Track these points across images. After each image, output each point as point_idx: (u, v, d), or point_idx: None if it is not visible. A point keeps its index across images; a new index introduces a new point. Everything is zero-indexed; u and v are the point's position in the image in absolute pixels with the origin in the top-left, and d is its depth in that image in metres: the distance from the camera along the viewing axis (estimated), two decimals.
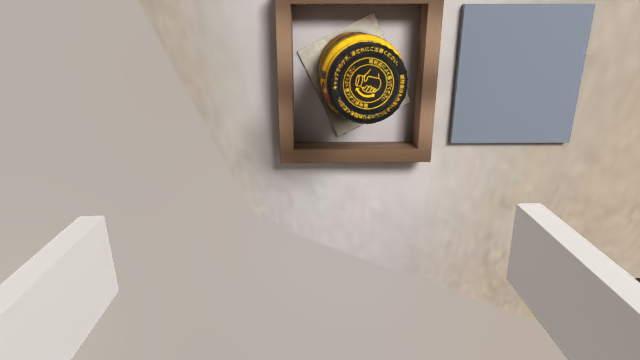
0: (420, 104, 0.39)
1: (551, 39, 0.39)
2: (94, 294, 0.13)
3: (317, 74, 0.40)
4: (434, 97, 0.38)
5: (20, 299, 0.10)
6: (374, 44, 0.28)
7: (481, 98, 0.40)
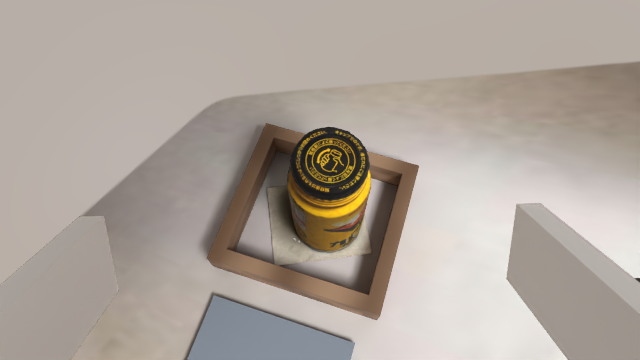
0: None
1: None
2: (94, 294, 0.13)
3: None
4: (273, 279, 0.35)
5: (20, 299, 0.10)
6: (364, 174, 0.29)
7: (249, 340, 0.35)
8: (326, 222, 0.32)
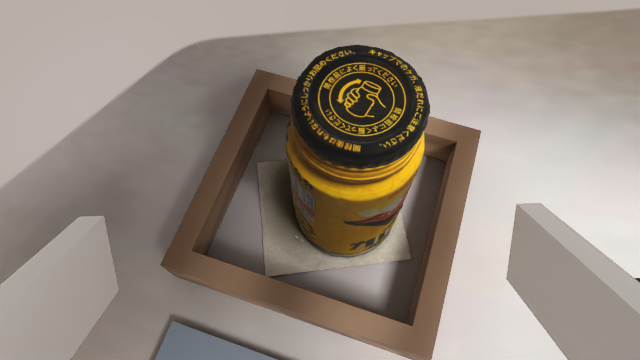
0: None
1: None
2: (94, 294, 0.13)
3: None
4: (263, 298, 0.23)
5: (20, 299, 0.10)
6: (423, 123, 0.16)
7: None
8: (350, 210, 0.19)
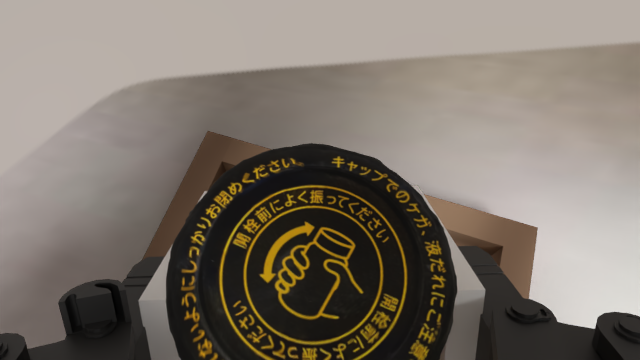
0: None
1: None
2: None
3: None
4: None
5: None
6: (445, 333, 0.07)
7: None
8: None
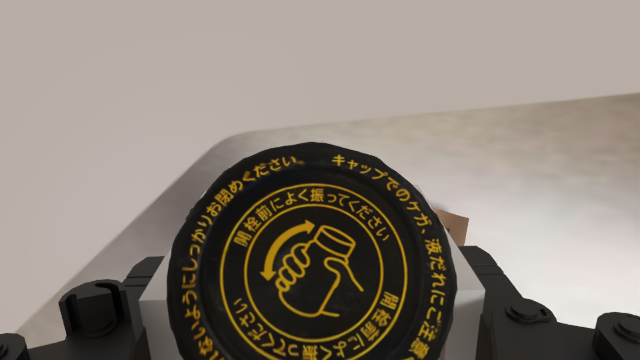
0: None
1: None
2: None
3: None
4: None
5: None
6: (445, 331, 0.07)
7: None
8: None
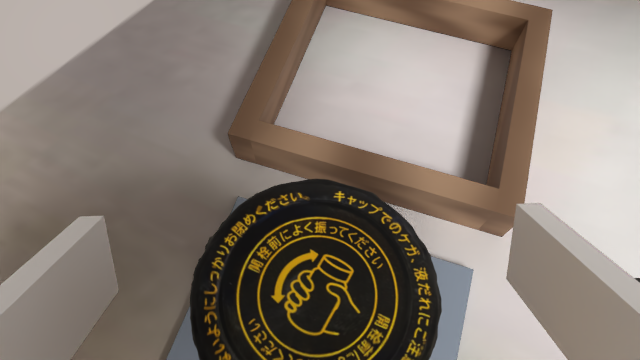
0: None
1: None
2: (94, 294, 0.13)
3: None
4: (339, 163, 0.22)
5: (20, 299, 0.10)
6: (429, 348, 0.09)
7: None
8: None
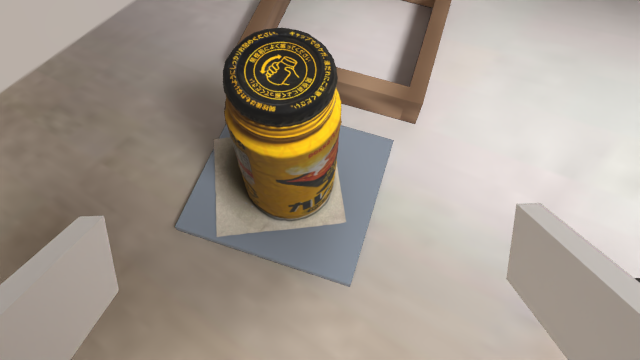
0: None
1: None
2: (94, 294, 0.13)
3: None
4: None
5: (20, 299, 0.10)
6: (328, 90, 0.20)
7: None
8: (277, 167, 0.23)
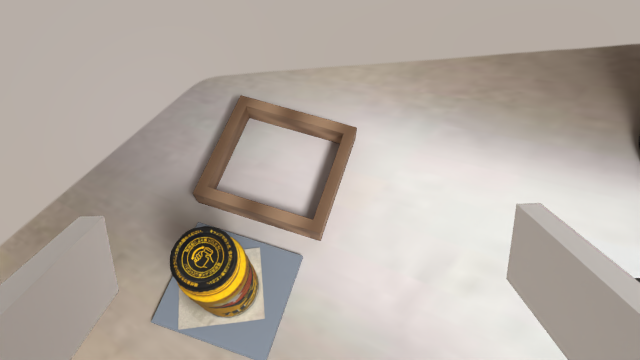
0: None
1: None
2: (94, 294, 0.13)
3: None
4: (242, 208, 0.47)
5: (20, 299, 0.10)
6: (229, 270, 0.35)
7: None
8: (206, 304, 0.37)
